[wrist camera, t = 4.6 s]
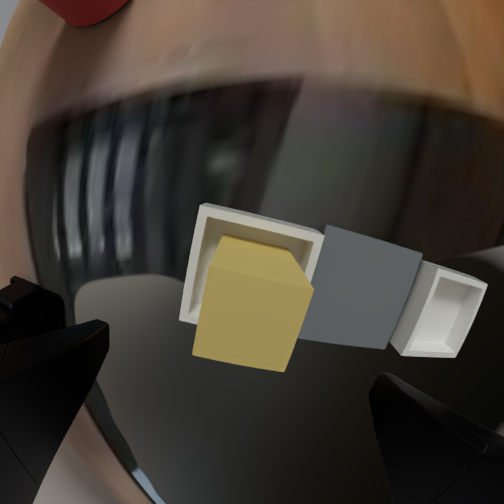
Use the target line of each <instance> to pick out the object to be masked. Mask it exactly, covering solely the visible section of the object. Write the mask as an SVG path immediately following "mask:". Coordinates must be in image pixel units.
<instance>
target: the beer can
mask: <svg viewBox="0 0 504 504" xmlns="http://www.w3.org/2000/svg"><path fill="white" fill-rule="evenodd" d="M39 1H40V2H42V3H43V4H44V5H46V6H47V7H48V8H50V9H51V10H52V11H54V12H55V13H56V14H58V15H59V16H60V17H61V18H63V19H64V20H65V21H67V22H68V23H69V24H71V25H73V26H76V27H83V26H89V25H92V24H95V23H98V22H100V21H102V20H104V19H106V18H108V17H109V16H111V15H112V14H113V13H115V12H116V11H118V10H119V9H120V8H121V7H122V6H123V5H124V4H125V3H126V2H127V1H128V0H39Z"/></svg>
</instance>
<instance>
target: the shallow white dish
mask: <svg viewBox="0 0 504 504" xmlns="http://www.w3.org/2000/svg"><path fill="white" fill-rule="evenodd" d="M223 233H227V234H231V235H235V236H240V237H244V238H248V239H253V240H257V241H261V242H265V243H269V244H274V245H278V246H282V247H286V248H288V249H289V251H290V252H291V254H292V255H293V257H294V259H295V260H296V262H297V263H298V265H299V266H300V268H301V269H302V271H303V273H304V274H305V276H306V277H307V279H308V280H309V282H310V283H311V280H312V276H313V273H314V270H315V267H316V264H317V260H318V257H319V254H320V250H321V247H322V243H323V240H324V236H325V235H323V234H322V233H320V232H319V231H317V230H316V229H312V228H309V227H305V226H301V225H297V224H293V223H289V222H285V221H281V220H277V219H273V218H269V217H265V216H261V215H257V214H253V213H249V212H244V211H240V210H236V209H231V208H227V207H223V206H218V205H214V204H209V203H204V204H202V205H200V208H199V213H198V217H197V222H196V227H195V232H194V237H193V242H192V247H191V252H190V257H189V263H188V268H187V274H186V280H185V286H184V292H183V298H182V305H181V310H180V317H179V320H181V321H184V322H188V323H193V324H198V319H199V314H200V308H201V303H202V298H203V293H204V288H205V283H206V278H207V273H208V268H209V265H210V262H211V260H212V258H213V256H214V253H215V251H216V249H217V247H218V244H219V242H220V240H221V238H222V235H223Z"/></svg>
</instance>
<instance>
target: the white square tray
mask: <svg viewBox="0 0 504 504" xmlns="http://www.w3.org/2000/svg"><path fill="white" fill-rule="evenodd" d="M486 288H487V284H486V283H484V282H482V281H480V280H478V279H476V278H474V277H472V276H470V275H467V274H463V273H461V272H457V271H454V270H452V269H449V268H445V267H442V266H439V265H436V264H433V263H430V262H427V261H424V260H422V261H421V264H420V267H419V270H418V273H417V275H416V278H415V281H414V284H413V287H412V289H411V292H410V294H409V297H408V299H407V302H406V304H405V307H404V309H403V312H402V314H401V316H400V319H399V321H398V323H397V326H396V328H395V330H394V332H393V335H392V337H391V339H390V343H391V344H392V345H393V346H394V347H395V349H396V350H397V351H398V352H399V354H400V355H401V356H417V357H451V358H453V357H454V358H455V357H456V355H457V353H458V351H459V349H460V348H461V345H462V343H463V342H464V340H465V337H466V336H467V333H468V331H469V329H470V327H471V325H472V323H473V320H474V318H475V316H476V313H477V311H478V309H479V306H480V303H481V301H482V298H483V296H484V293H485V290H486Z"/></svg>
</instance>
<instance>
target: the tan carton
mask: <svg viewBox="0 0 504 504" xmlns="http://www.w3.org/2000/svg"><path fill="white" fill-rule="evenodd" d="M313 291H314V288H313V287H312V285H311V284H310V282H309V280H308V279H307V277H306V276H305V274H304V273H303V271H302V269H301V268H300V266H299V265H298V263H297V262H296V260H295V259H294V257H293V255H292V254H291V252H290V251H289V249H288V248H286V247H282V246H278V245H274V244H269V243H265V242H261V241H257V240H253V239H248V238H244V237H240V236H235V235H231V234H227V233H223V235H222V238H221V240H220V242H219V244H218V247H217V249H216V251H215V253H214V256H213V258H212V260H211V262H210V265H209V268H208V273H207V278H206V283H205V288H204V293H203V298H202V303H201V308H200V314H199V319H198V324H197V330H196V335H195V342H194V347H193V353H192V355H195V356H199V357H203V358H208V359H212V360H217V361H222V362H227V363H232V364H237V365H242V366H248V367H255V368H260V369H266V370H273V371H280V372H284V371H285V369H286V366H287V364H288V361H289V359H290V356H291V353H292V351H293V348H294V345H295V343H296V340H297V337H298V335H299V332H300V329H301V326H302V324H303V321H304V318H305V315H306V312H307V309H308V306H309V303H310V300H311V297H312V294H313Z"/></svg>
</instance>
